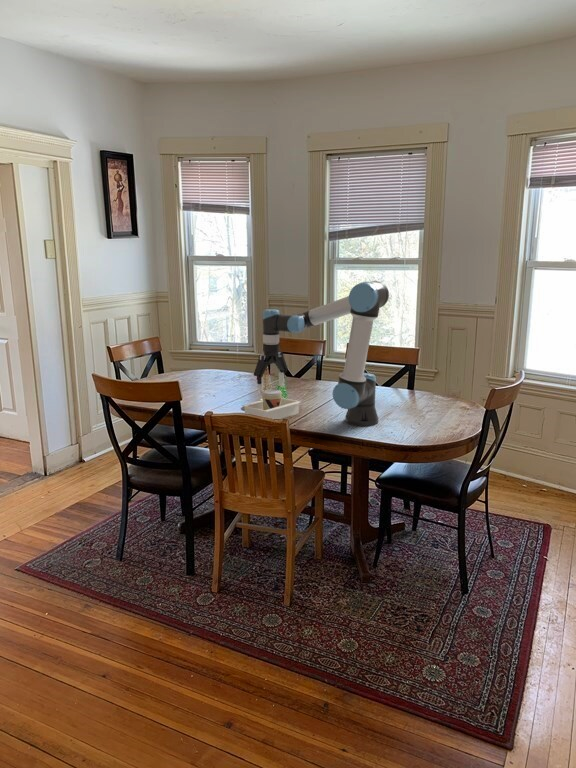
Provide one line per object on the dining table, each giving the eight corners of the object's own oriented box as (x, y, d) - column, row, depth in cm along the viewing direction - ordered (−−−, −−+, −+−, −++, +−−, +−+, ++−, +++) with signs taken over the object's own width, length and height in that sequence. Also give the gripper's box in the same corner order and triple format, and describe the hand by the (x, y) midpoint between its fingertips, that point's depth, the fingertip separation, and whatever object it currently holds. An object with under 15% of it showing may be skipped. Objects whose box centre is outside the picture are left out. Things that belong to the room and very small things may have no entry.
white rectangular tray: (276, 408, 285) (276, 396, 284) (301, 414, 274) (301, 402, 272) (242, 417, 269) (241, 405, 267) (267, 424, 257) (267, 411, 256)
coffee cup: (264, 419, 266) (264, 394, 263) (260, 414, 274) (259, 389, 272) (284, 417, 268) (284, 392, 265) (279, 412, 277) (278, 388, 274)
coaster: (267, 409, 284) (267, 407, 283) (251, 413, 276) (251, 412, 276) (252, 405, 291) (252, 404, 291) (236, 409, 283) (236, 408, 283)
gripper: (283, 339, 275) (283, 382, 280) (245, 345, 257) (246, 391, 262) (295, 341, 270) (295, 385, 275) (257, 347, 252) (257, 394, 257)
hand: (271, 388), depth 268 cm, fingers open, 13 cm apart
